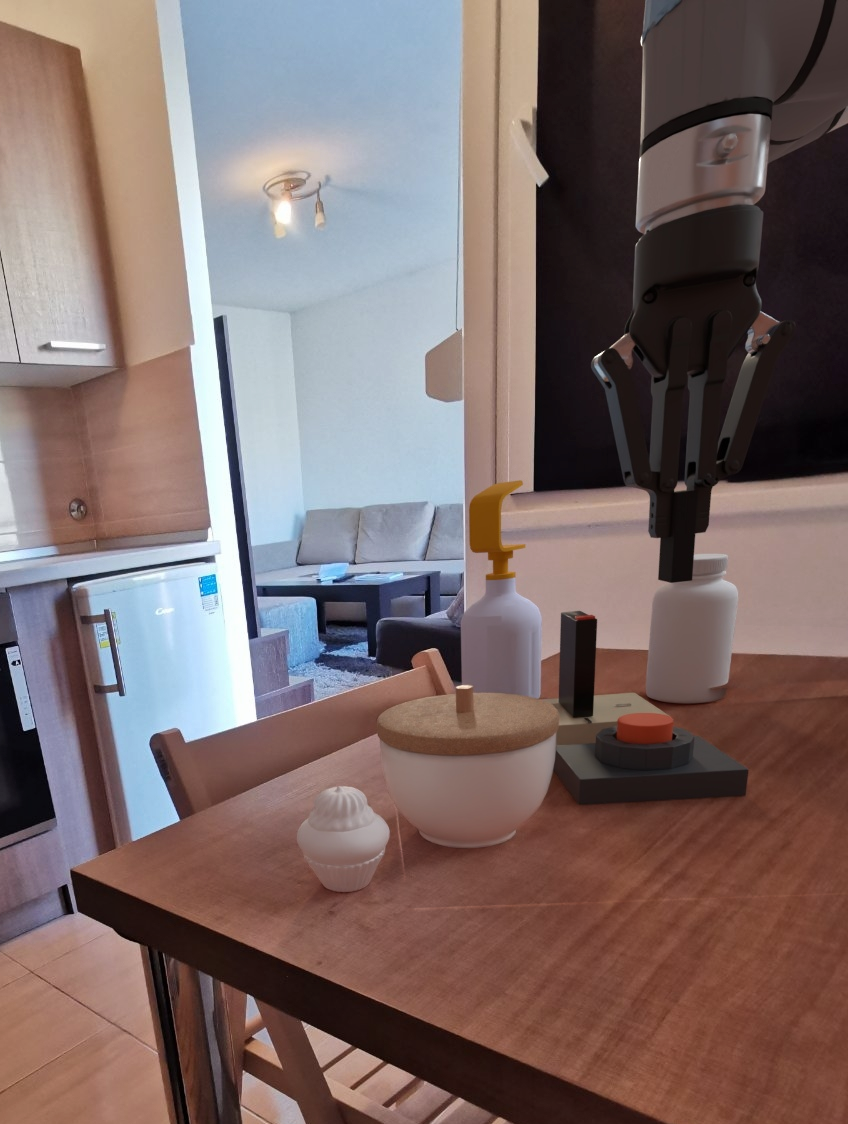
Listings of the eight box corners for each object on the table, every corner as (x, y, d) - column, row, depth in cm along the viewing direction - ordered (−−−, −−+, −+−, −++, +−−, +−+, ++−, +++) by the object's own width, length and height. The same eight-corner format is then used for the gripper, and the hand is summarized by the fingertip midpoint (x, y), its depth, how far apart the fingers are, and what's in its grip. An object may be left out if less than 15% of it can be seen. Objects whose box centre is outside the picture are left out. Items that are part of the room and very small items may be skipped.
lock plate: (632, 720, 79) (634, 690, 78) (669, 749, 69) (672, 715, 68) (492, 730, 81) (492, 701, 80) (510, 759, 72) (510, 727, 70)
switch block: (697, 760, 66) (701, 715, 65) (745, 796, 58) (751, 746, 56) (551, 769, 68) (552, 726, 67) (579, 805, 60) (580, 757, 58)
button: (661, 731, 63) (662, 710, 62) (680, 745, 59) (681, 723, 59) (610, 734, 64) (611, 714, 63) (625, 748, 60) (626, 727, 59)
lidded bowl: (366, 859, 55) (356, 711, 51) (400, 797, 66) (393, 671, 62) (554, 870, 50) (558, 707, 46) (557, 801, 61) (561, 664, 57)
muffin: (304, 907, 49) (294, 807, 47) (298, 867, 55) (289, 776, 53) (400, 898, 49) (395, 796, 47) (383, 858, 55) (378, 766, 52)
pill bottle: (725, 706, 79) (741, 557, 74) (640, 704, 84) (649, 563, 79) (729, 688, 85) (744, 549, 80) (649, 687, 90) (659, 555, 85)
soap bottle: (556, 695, 91) (561, 475, 83) (506, 713, 87) (507, 481, 78) (495, 687, 98) (494, 483, 90) (446, 703, 94) (440, 490, 85)
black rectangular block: (558, 702, 77) (560, 609, 74) (577, 701, 77) (580, 607, 74) (573, 717, 71) (576, 618, 68) (593, 716, 71) (597, 616, 68)
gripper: (613, 220, 49) (601, 595, 57) (837, 179, 47) (791, 573, 55) (580, 256, 56) (574, 585, 64) (774, 221, 54) (742, 566, 62)
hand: (674, 579), depth 59 cm, fingers closed
